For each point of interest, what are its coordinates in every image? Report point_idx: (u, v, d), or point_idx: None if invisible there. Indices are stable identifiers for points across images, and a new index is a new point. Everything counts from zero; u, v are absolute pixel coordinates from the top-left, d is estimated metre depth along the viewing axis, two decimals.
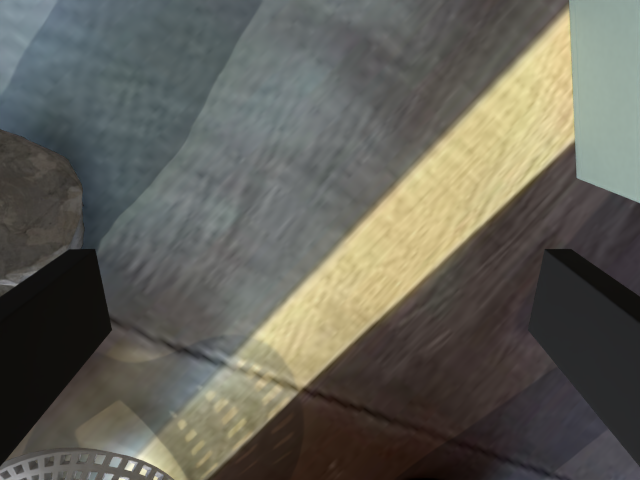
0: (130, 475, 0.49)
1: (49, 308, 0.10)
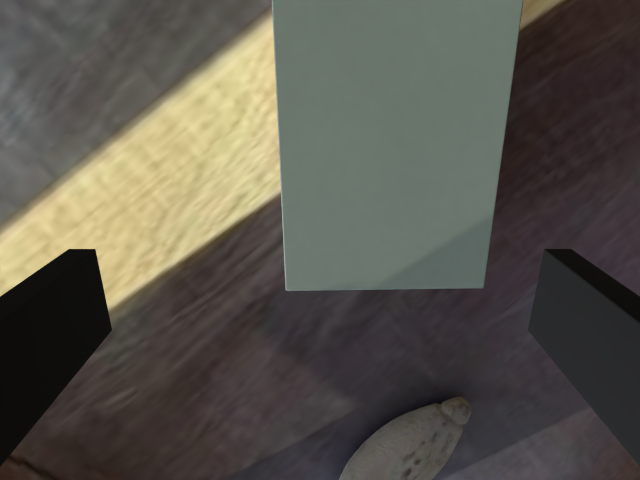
0: None
1: (49, 308, 0.10)
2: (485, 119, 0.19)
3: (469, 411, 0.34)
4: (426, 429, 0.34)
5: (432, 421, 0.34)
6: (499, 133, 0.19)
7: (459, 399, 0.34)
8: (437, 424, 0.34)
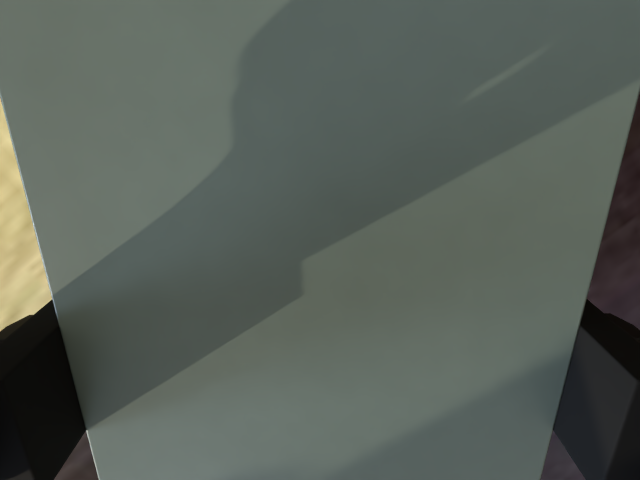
0: None
1: None
2: (568, 147, 0.07)
3: None
4: None
5: None
6: (602, 183, 0.07)
7: None
8: None
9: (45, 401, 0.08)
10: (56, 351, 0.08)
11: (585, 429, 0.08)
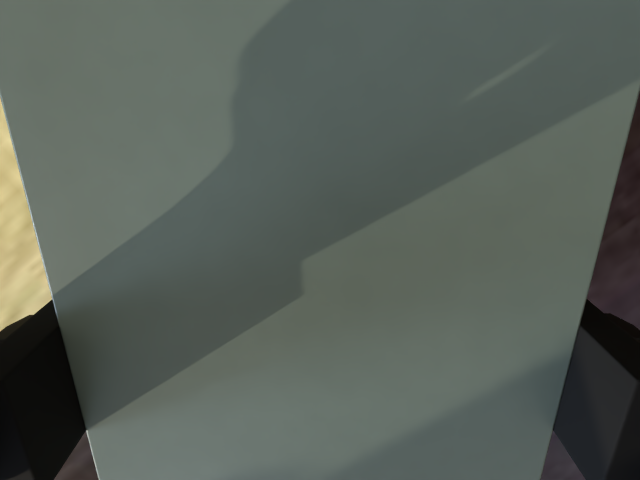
0: None
1: None
2: (568, 147, 0.07)
3: None
4: None
5: None
6: (602, 183, 0.07)
7: None
8: None
9: (45, 401, 0.08)
10: (56, 351, 0.08)
11: (585, 429, 0.08)
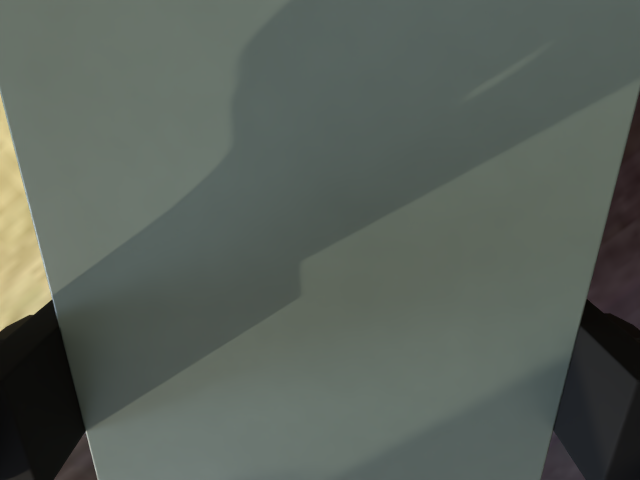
0: None
1: None
2: (568, 146, 0.07)
3: None
4: None
5: None
6: (602, 182, 0.07)
7: None
8: None
9: (45, 401, 0.08)
10: (56, 351, 0.08)
11: (585, 429, 0.08)
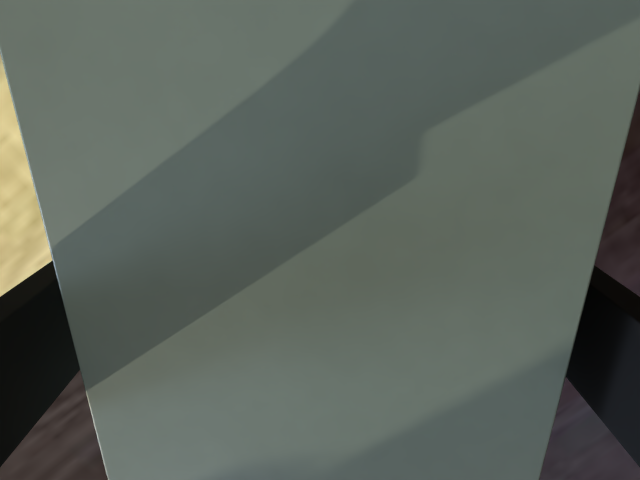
0: None
1: (50, 308, 0.10)
2: (574, 118, 0.07)
3: None
4: None
5: None
6: (608, 156, 0.07)
7: None
8: None
9: None
10: None
11: None
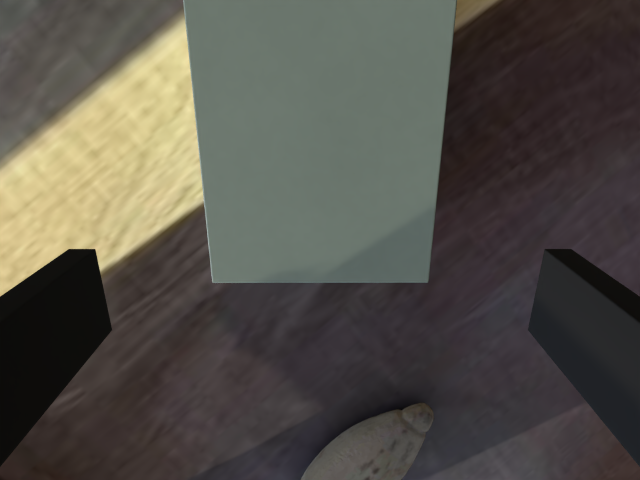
0: None
1: (50, 308, 0.10)
2: (423, 94, 0.17)
3: (431, 418, 0.32)
4: (385, 437, 0.32)
5: (392, 428, 0.32)
6: (439, 110, 0.17)
7: (421, 406, 0.32)
8: (397, 432, 0.32)
9: None
10: None
11: None
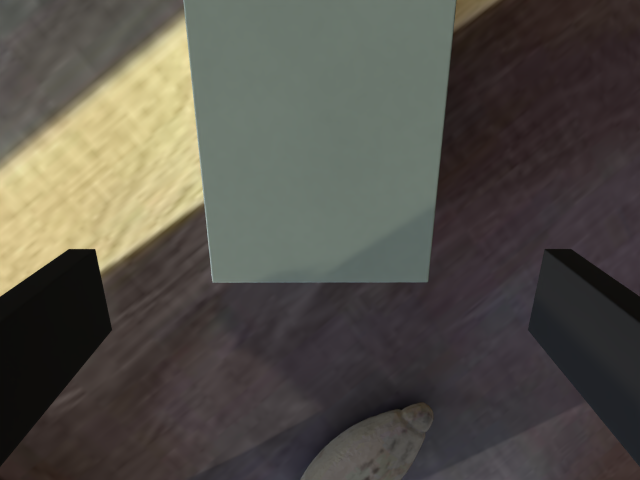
0: None
1: (50, 308, 0.10)
2: (423, 94, 0.17)
3: (430, 418, 0.32)
4: (384, 437, 0.32)
5: (392, 427, 0.32)
6: (439, 110, 0.18)
7: (420, 405, 0.32)
8: (396, 431, 0.32)
9: None
10: None
11: None
